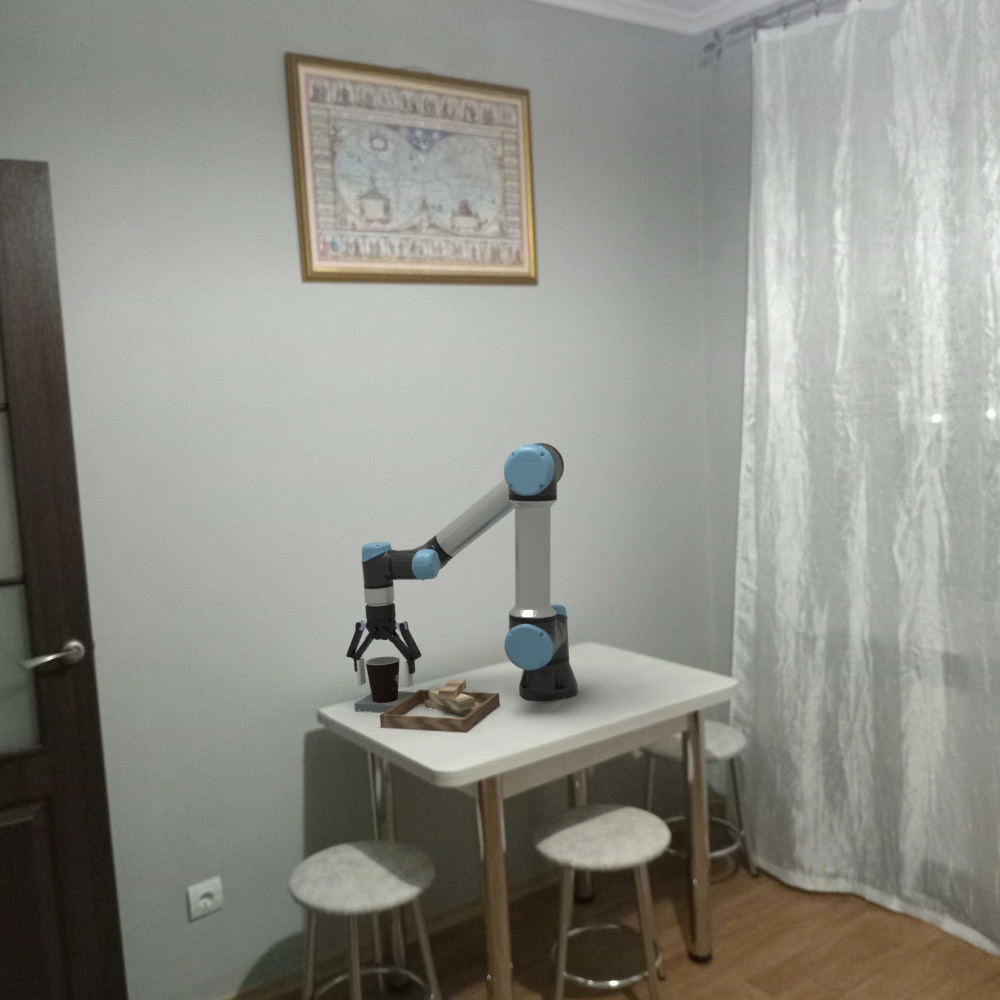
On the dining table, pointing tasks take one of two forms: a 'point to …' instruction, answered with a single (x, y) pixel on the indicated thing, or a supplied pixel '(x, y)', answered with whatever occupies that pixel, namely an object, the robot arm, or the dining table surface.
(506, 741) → the dining table surface
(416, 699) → the wooden tray
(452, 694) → the offcut board beech
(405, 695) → the plate
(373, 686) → the coffee mug
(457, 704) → the offcut board pine
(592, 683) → the dining table surface
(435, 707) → the offcut board oak
